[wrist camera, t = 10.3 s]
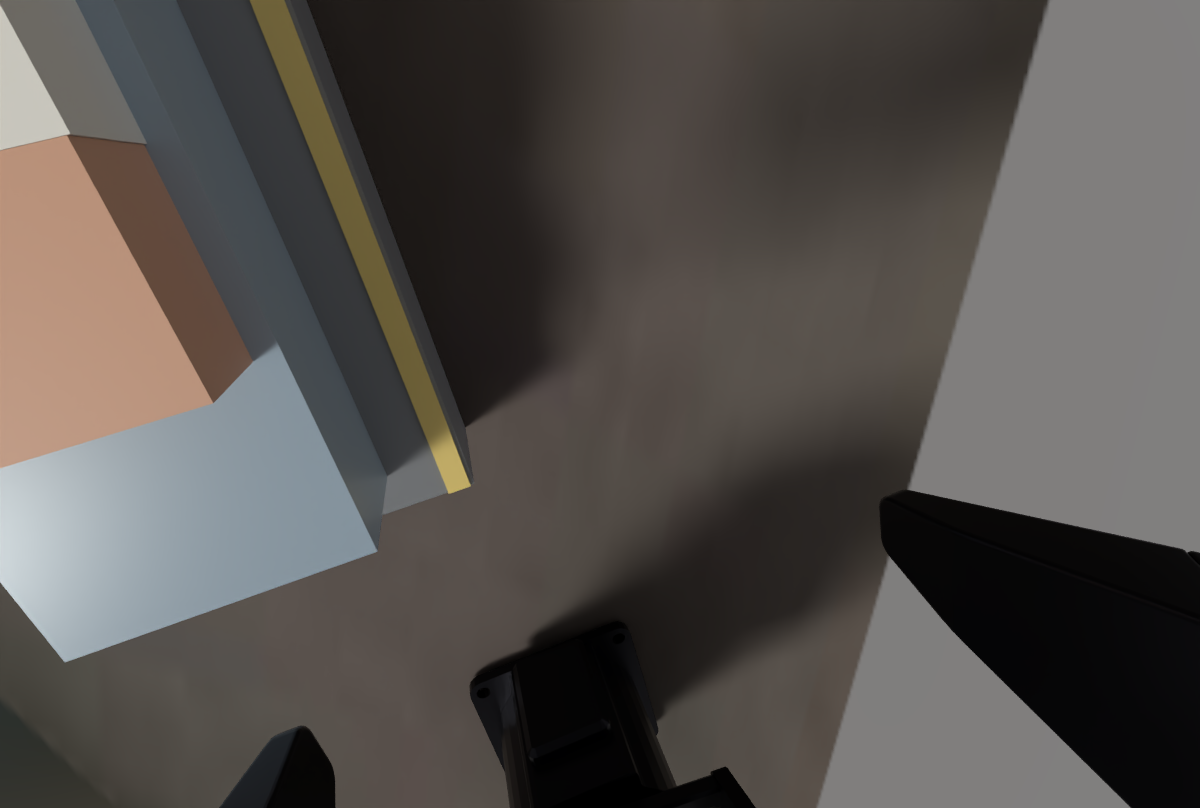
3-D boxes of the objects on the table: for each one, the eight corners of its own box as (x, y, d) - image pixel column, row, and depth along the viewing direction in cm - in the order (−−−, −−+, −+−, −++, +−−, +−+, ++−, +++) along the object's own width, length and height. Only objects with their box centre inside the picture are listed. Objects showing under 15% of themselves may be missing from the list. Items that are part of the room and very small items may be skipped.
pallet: (387, 476, 16) (377, 551, 12) (142, 558, 15) (65, 662, 12) (-1, -399, 9) (-219, -696, 6) (-469, -349, 8) (-1009, -668, 5)
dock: (465, 428, 20) (474, 485, 16) (146, 534, 18) (75, 623, 15) (190, -313, 13) (94, -513, 9) (-365, -238, 11) (-748, -441, 8)
